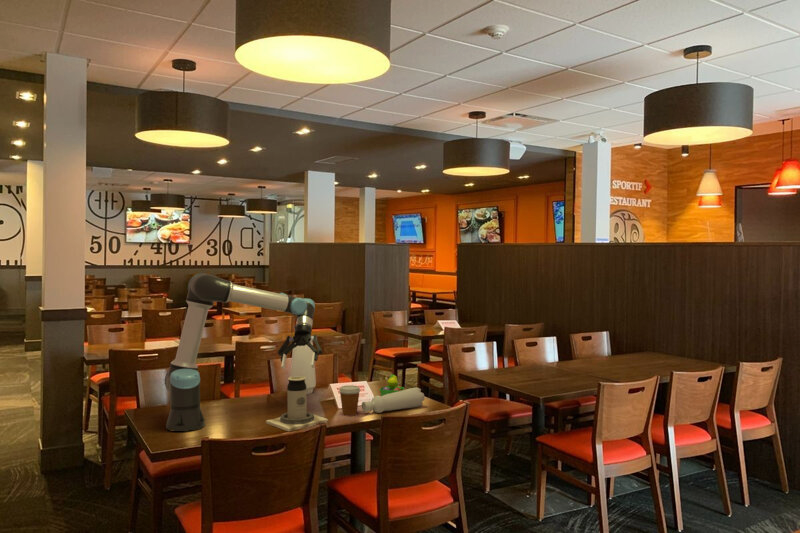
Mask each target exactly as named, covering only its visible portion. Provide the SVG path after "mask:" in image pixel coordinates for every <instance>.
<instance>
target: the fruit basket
mask: <svg viewBox="0 0 800 533" xmlns="http://www.w3.org/2000/svg"><path fill="white" fill-rule="evenodd" d="M386 382H387V385H385V386H381V387H380V388H379V392H380V396H383V395H386V394H390V393H394V392H399V391H403V390H405V387H404V386H398V385H399V381H398V377H397V376H396V375H395V374H390V377H388V380H387V381H386Z"/></svg>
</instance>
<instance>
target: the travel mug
mask: <svg viewBox="0 0 800 533" xmlns="http://www.w3.org/2000/svg"><path fill="white" fill-rule="evenodd" d="M305 379H306V378H305V377H303V376H294V377H291V376H289V377H288V378H287V380H288V384H287V386H286V387H287V390H286V391H287V400H286V401H287V413H288V419H303V418H307V414H306V412H307V394H306V384H305Z"/></svg>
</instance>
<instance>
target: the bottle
mask: <svg viewBox="0 0 800 533" xmlns="http://www.w3.org/2000/svg"><path fill="white" fill-rule="evenodd" d="M421 391H422V389H421V388H419V387H412V388H411V387H410V388H407V389H404V390H403V391H399V392H394V393H390V394H386V395H383V396H381V395H377V394H376V395H375V396H374V397H372V398H371V400H368V401H362V402H361V409H362V411H363V412H364V413H365V412H369V411H370V412H371V411H373V412H375V413H378V414H381V413H383V412H390V411H397V410H406V409H414V408H419V407H421V406H422V405H424V403H423V402H424V401H425V394H424V392H421Z"/></svg>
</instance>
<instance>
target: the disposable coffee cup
mask: <svg viewBox="0 0 800 533" xmlns="http://www.w3.org/2000/svg"><path fill="white" fill-rule="evenodd" d="M338 392H339V394H340V402H341V409H342V410H341V411H342V415H343V414H344V415H343V416H346V415H352V416H356V415H357V414H358V406H359V399H360V398H359V397H360V392H361V388H360V386H358V385H353V384H351V385H342V386H340V388H339V390H338ZM355 414H356V415H355Z"/></svg>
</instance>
